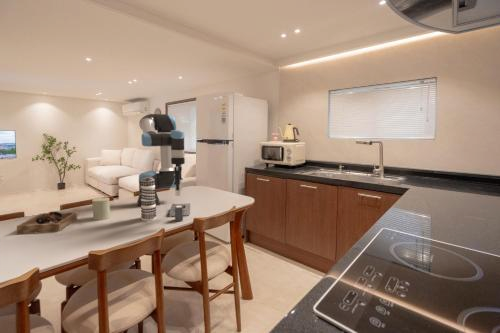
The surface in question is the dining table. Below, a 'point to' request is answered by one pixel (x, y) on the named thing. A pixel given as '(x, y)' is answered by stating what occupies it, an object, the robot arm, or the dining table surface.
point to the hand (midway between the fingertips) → (178, 193)
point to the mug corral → (33, 226)
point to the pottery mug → (49, 218)
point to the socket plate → (185, 209)
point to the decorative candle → (148, 199)
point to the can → (101, 208)
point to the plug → (178, 213)
